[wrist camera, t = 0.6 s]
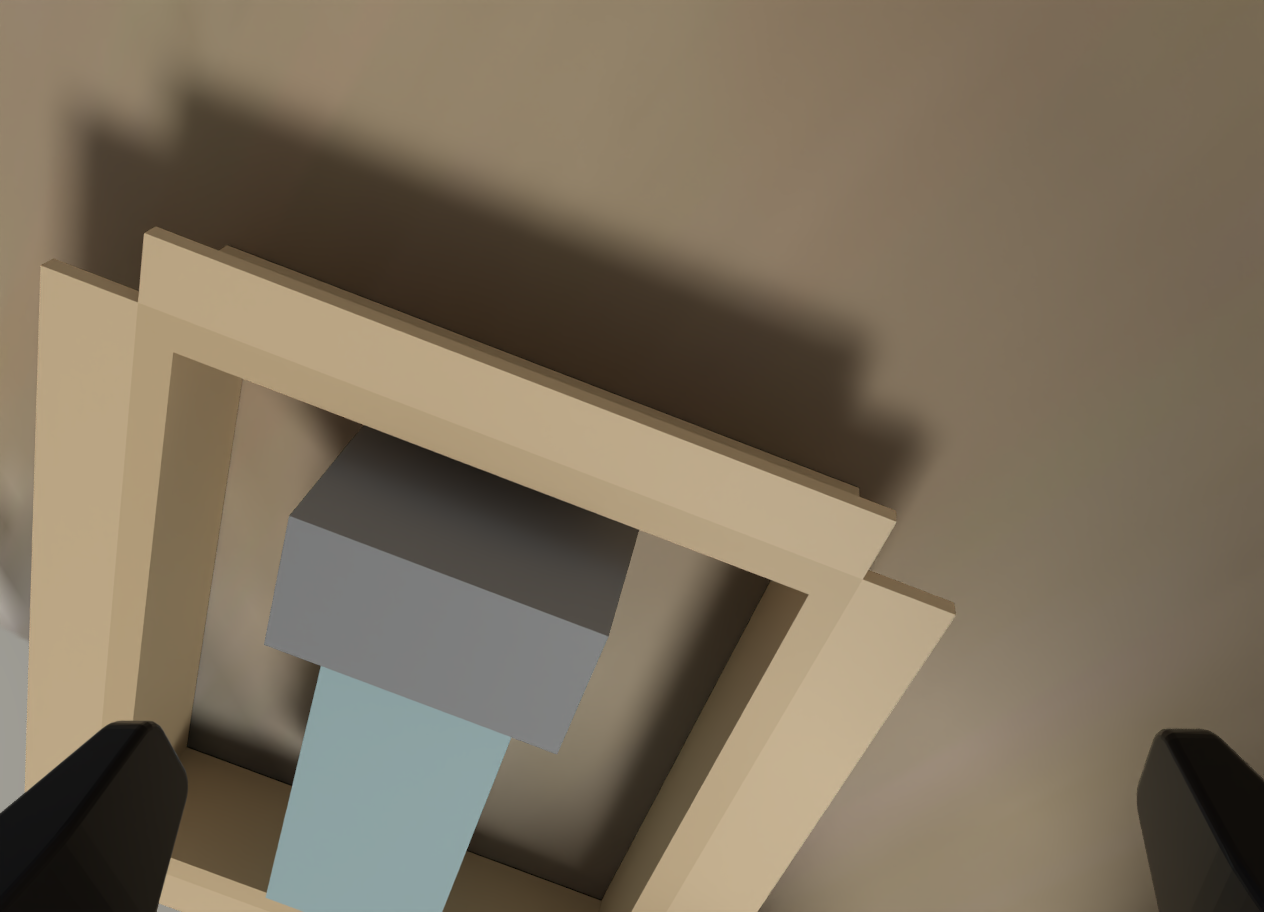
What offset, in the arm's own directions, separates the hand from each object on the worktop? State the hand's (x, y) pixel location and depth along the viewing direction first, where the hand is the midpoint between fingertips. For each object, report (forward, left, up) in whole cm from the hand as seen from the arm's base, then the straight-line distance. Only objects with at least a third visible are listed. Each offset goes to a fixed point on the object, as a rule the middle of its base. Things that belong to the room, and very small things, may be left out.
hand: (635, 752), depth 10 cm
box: (-13, +3, -14) cm, 19 cm away
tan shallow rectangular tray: (-13, +3, -14) cm, 19 cm away
